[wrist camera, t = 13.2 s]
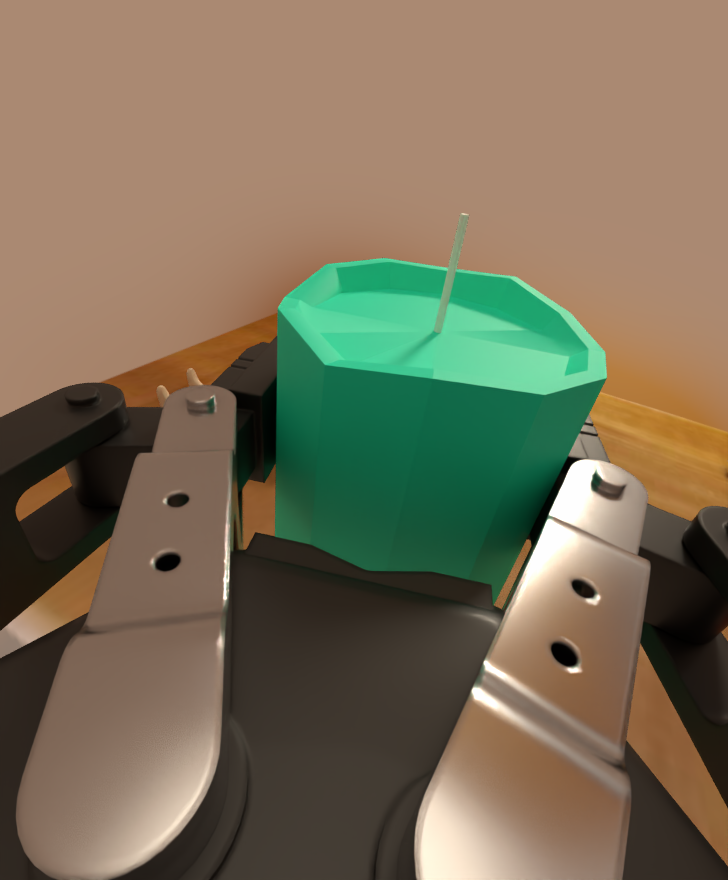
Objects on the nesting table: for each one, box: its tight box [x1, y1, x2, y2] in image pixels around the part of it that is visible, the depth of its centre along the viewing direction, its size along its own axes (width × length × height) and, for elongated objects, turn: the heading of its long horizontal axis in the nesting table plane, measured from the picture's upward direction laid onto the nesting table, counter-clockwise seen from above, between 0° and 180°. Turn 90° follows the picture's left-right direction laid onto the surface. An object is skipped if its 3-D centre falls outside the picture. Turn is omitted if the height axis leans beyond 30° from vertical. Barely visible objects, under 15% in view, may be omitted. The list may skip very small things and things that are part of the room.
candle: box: [275, 213, 607, 605], centre depth 11 cm, size 6×6×12 cm
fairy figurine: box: [157, 368, 203, 407], centre depth 31 cm, size 12×5×12 cm
